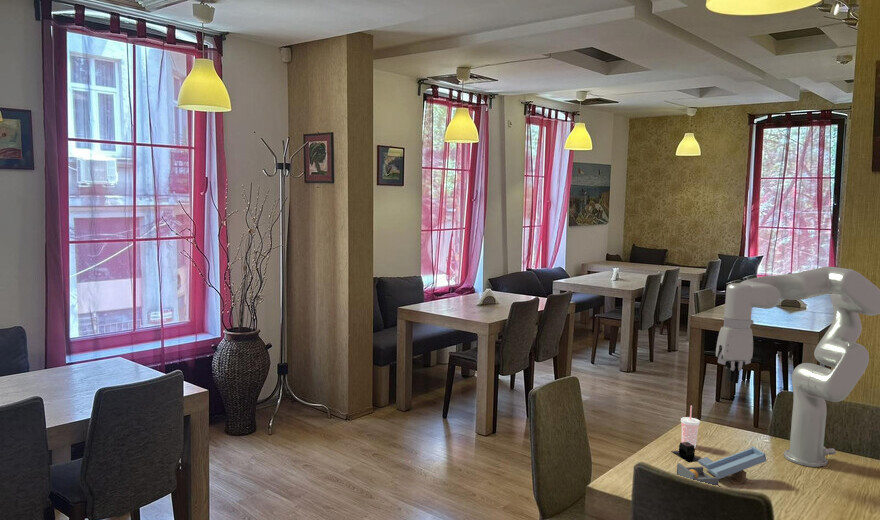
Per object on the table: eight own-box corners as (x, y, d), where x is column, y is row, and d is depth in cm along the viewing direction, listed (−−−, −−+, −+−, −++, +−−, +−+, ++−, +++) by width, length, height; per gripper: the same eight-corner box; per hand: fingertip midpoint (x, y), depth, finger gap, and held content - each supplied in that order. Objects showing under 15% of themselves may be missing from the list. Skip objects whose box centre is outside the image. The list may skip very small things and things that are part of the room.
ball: (696, 471, 201) (689, 465, 200) (702, 475, 197) (695, 469, 197) (690, 480, 200) (682, 474, 200) (696, 484, 197) (688, 478, 197)
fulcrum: (737, 473, 206) (737, 462, 205) (752, 483, 199) (753, 471, 198) (719, 474, 204) (720, 463, 204) (734, 484, 197) (735, 472, 197)
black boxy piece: (708, 464, 214) (709, 450, 214) (688, 466, 212) (689, 452, 211) (683, 449, 226) (684, 436, 225) (664, 451, 224) (665, 438, 223)
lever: (742, 447, 211) (740, 439, 210) (766, 461, 200) (765, 453, 199) (697, 463, 208) (695, 455, 208) (719, 478, 197) (717, 470, 197)
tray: (701, 474, 204) (702, 462, 204) (718, 486, 196) (719, 473, 195) (676, 476, 202) (677, 463, 202) (692, 488, 194) (693, 474, 194)
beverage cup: (677, 441, 232) (680, 402, 230) (695, 443, 231) (698, 403, 229) (681, 448, 226) (683, 407, 224) (700, 449, 225) (703, 409, 223)
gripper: (750, 321, 212) (746, 378, 214) (708, 321, 209) (703, 379, 211) (766, 326, 204) (762, 385, 206) (722, 326, 201) (718, 386, 203)
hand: (732, 382), depth 208 cm, fingers closed
